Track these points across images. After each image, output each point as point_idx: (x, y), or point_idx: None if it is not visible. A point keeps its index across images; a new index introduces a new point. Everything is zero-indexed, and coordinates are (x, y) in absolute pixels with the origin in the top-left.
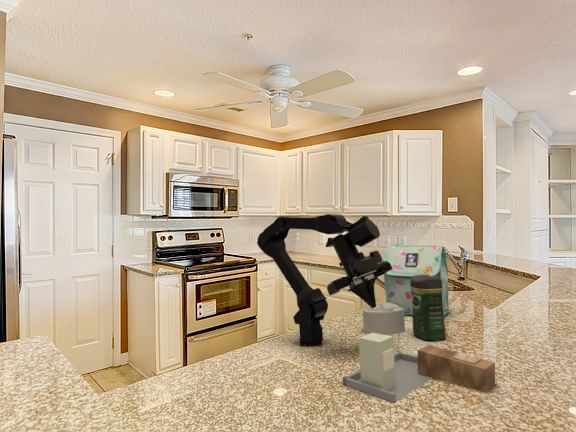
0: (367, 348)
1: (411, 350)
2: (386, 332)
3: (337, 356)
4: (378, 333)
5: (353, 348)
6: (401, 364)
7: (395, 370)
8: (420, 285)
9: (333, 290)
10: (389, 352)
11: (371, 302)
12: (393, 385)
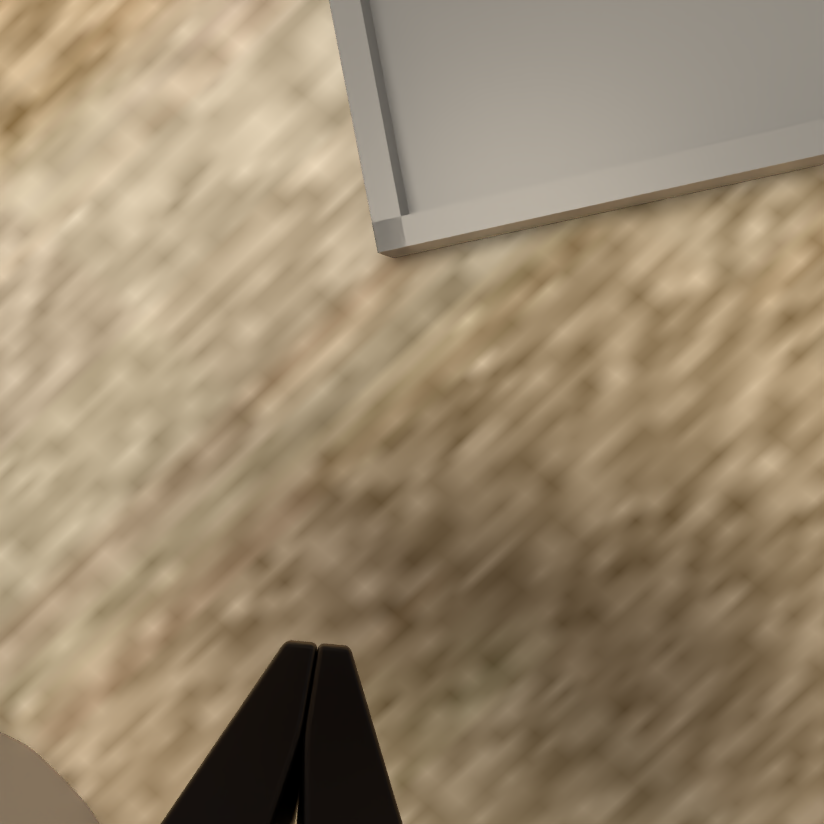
0: None
1: (146, 358)
2: (10, 758)
3: (734, 656)
4: (64, 798)
5: (474, 704)
6: (503, 117)
7: (658, 40)
8: None
9: None
10: None
11: (357, 736)
12: None
